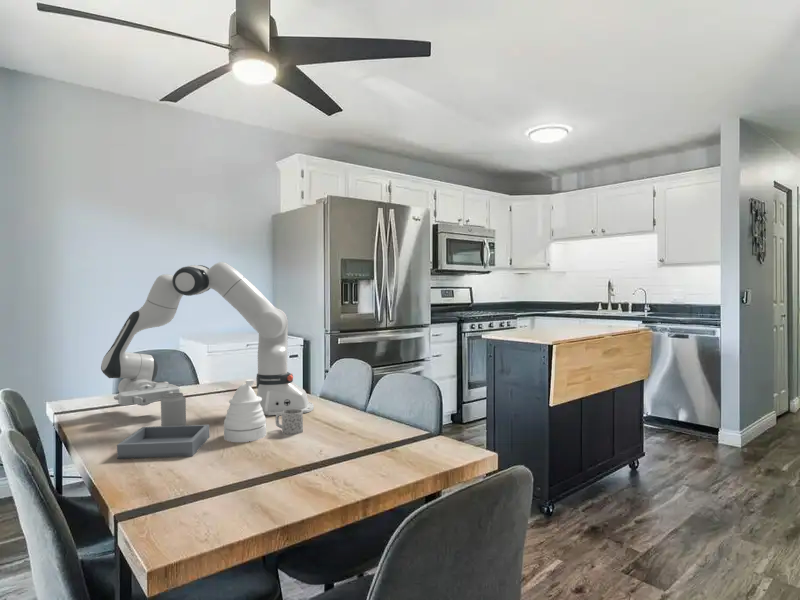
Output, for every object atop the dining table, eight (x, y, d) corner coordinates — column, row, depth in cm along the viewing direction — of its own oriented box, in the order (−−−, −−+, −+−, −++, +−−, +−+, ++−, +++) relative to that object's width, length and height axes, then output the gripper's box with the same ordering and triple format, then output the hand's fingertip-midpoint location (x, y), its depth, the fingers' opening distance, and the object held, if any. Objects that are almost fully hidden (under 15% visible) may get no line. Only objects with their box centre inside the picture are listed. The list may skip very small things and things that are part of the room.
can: (176, 433, 165) (176, 396, 164) (156, 432, 166) (155, 396, 166) (190, 427, 172) (190, 392, 172) (171, 426, 173) (170, 391, 173)
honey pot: (274, 432, 166) (273, 377, 165) (250, 444, 154) (249, 384, 153) (240, 428, 170) (240, 375, 169) (215, 440, 158) (214, 382, 157)
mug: (306, 430, 168) (306, 410, 168) (294, 435, 162) (294, 414, 162) (282, 426, 172) (282, 407, 172) (269, 432, 166) (269, 411, 166)
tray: (209, 437, 161) (209, 424, 160) (192, 456, 143) (192, 442, 143) (143, 439, 158) (142, 426, 158) (117, 459, 141) (117, 444, 140)
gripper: (111, 388, 179) (125, 394, 170) (170, 380, 194) (186, 385, 184) (111, 406, 179) (125, 413, 170) (171, 397, 194) (186, 403, 184)
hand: (157, 398), depth 177 cm, fingers open, 8 cm apart
